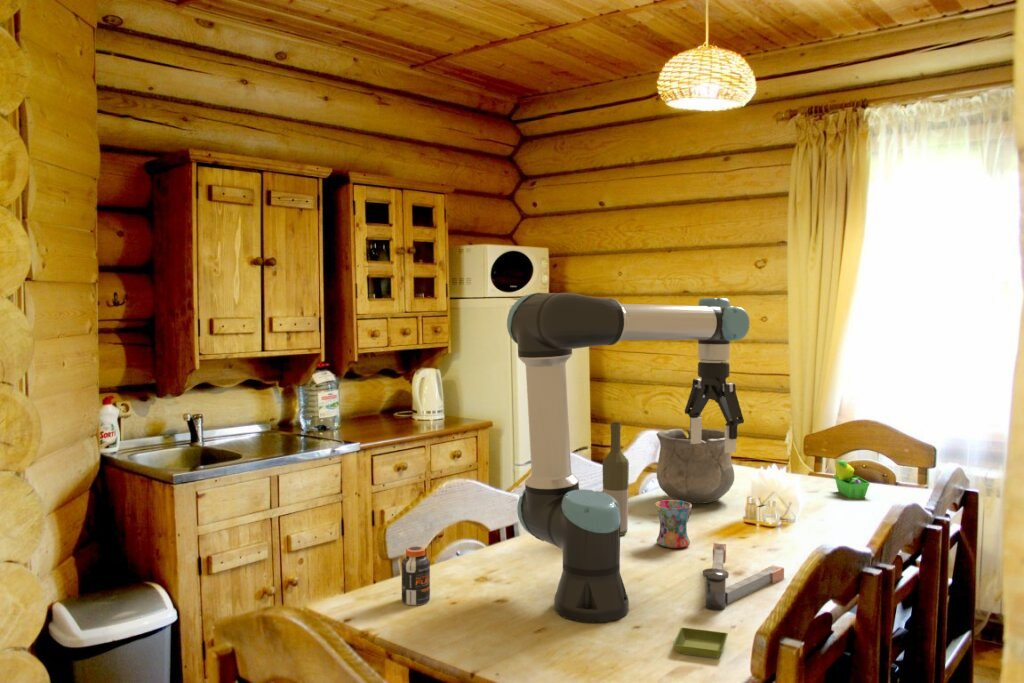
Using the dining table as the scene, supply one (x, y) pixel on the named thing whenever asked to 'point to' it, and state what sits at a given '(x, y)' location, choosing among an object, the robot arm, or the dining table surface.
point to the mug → (673, 523)
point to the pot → (694, 466)
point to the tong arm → (719, 555)
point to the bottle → (617, 476)
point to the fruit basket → (849, 481)
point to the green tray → (700, 642)
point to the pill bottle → (415, 576)
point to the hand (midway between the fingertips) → (712, 448)
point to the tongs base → (735, 585)
